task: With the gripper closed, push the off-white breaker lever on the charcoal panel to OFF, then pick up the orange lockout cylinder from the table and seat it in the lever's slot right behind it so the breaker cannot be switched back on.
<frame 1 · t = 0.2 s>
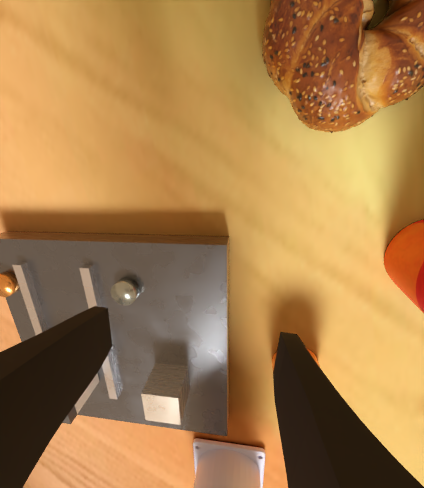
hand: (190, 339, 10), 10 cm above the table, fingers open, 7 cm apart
breaker lever: (67, 386, 21), point 4 cm above the table, slide at 0.0 cm
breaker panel: (127, 331, 23), on the table
pretzel: (352, 20, 14), on the table
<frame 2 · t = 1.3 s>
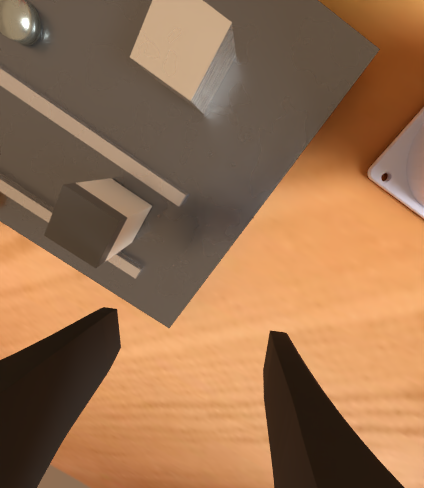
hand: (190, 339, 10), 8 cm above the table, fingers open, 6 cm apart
breaker lever: (103, 219, 13), point 4 cm above the table, slide at 0.0 cm
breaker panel: (123, 129, 15), on the table
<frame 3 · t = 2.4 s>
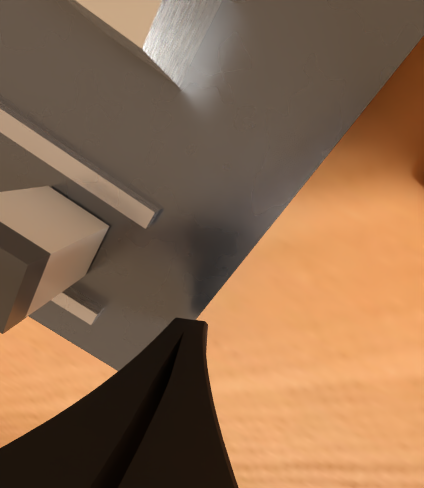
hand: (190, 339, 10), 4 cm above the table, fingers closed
breaker lever: (28, 249, 9), point 4 cm above the table, slide at 0.0 cm
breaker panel: (71, 116, 11), on the table
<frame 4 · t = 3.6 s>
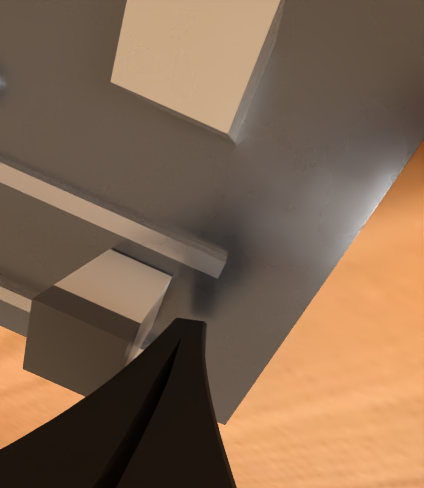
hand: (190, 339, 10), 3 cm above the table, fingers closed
breaker lever: (108, 316, 9), point 4 cm above the table, slide at 0.3 cm, touching gripper
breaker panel: (122, 180, 11), on the table
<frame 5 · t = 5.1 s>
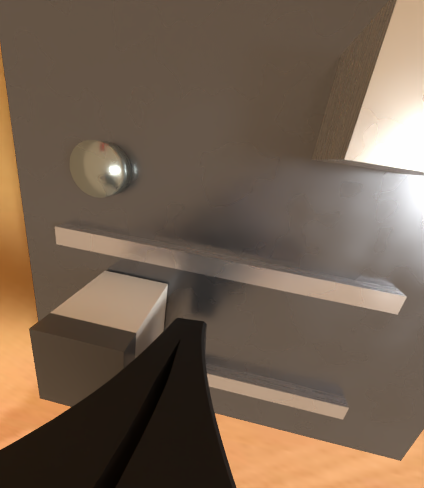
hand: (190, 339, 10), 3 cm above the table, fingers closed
breaker lever: (112, 333, 9), point 4 cm above the table, slide at 7.6 cm, touching gripper
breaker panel: (248, 230, 11), on the table
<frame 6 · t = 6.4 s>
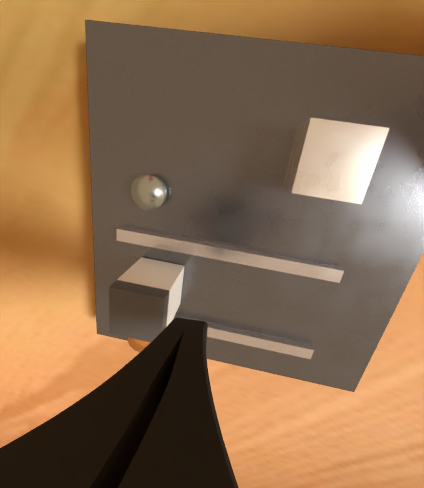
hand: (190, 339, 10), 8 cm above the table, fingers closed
breaker lever: (150, 296, 14), point 4 cm above the table, slide at 8.0 cm
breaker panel: (244, 230, 16), on the table
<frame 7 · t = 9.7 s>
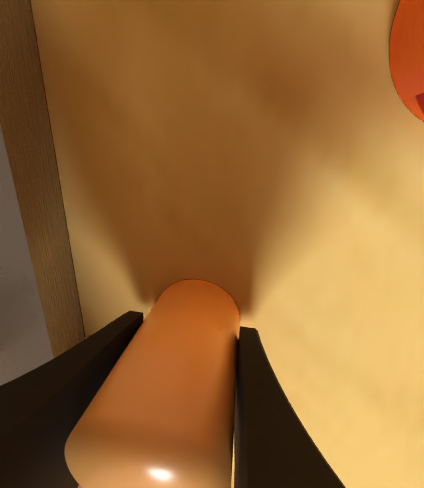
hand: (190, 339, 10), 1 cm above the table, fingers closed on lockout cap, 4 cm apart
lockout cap: (197, 317, 11), on the table, touching gripper
when the fingers open (4 cm above the table, at t = 13.5 s): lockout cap stays where it is, resting on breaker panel.
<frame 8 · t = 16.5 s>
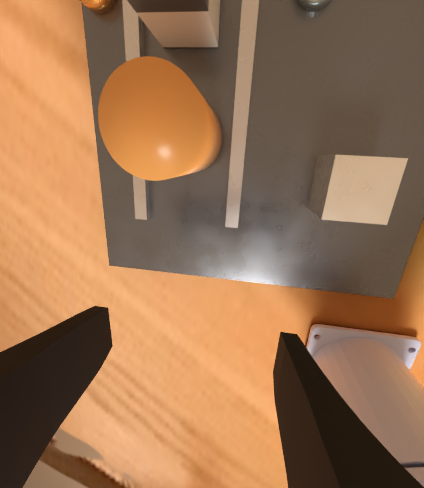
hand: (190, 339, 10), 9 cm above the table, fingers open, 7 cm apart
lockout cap: (189, 137, 14), point 2 cm above the table, touching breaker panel
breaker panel: (257, 128, 15), on the table
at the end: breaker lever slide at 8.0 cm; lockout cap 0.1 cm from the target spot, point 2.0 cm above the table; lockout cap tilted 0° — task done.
